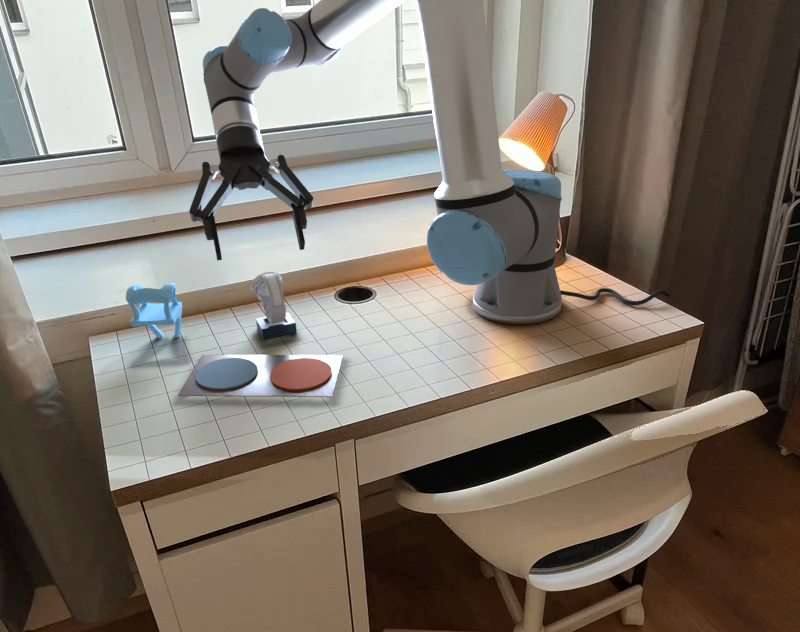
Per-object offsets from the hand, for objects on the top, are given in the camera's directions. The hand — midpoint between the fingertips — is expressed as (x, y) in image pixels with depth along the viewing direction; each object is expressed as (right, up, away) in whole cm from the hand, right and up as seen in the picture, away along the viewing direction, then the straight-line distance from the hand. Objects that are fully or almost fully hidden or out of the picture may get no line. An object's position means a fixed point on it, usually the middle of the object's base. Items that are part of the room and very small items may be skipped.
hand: (261, 251), depth 116 cm
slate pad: (-3, -21, -12) cm, 24 cm away
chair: (-15, -17, -3) cm, 22 cm away
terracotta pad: (+8, -21, -12) cm, 25 cm away
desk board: (+3, -22, -11) cm, 24 cm away
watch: (+3, -14, +1) cm, 14 cm away
